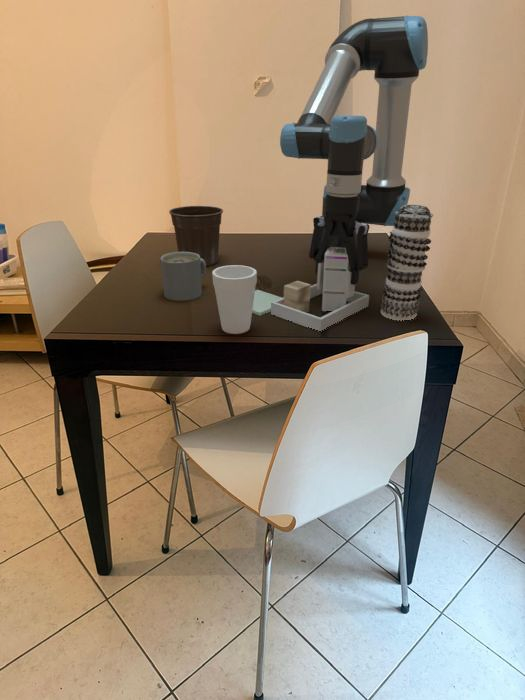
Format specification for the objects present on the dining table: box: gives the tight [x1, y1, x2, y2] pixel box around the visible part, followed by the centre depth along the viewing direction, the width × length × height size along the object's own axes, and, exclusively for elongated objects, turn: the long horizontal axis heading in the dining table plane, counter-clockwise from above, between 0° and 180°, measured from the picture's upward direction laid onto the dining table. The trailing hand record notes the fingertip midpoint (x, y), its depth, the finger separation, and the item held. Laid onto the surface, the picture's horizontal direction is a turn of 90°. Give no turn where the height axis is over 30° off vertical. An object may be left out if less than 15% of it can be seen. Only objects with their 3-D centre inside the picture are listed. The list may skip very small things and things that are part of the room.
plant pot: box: [168, 205, 224, 267], centre depth 144 cm, size 16×16×16 cm
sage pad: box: [252, 289, 283, 317], centre depth 117 cm, size 11×11×1 cm
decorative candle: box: [380, 204, 434, 322], centre depth 106 cm, size 9×9×25 cm
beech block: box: [283, 280, 312, 313], centre depth 110 cm, size 5×4×7 cm
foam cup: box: [211, 264, 258, 335], centre depth 101 cm, size 10×9×13 cm
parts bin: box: [270, 283, 370, 332], centre depth 112 cm, size 20×15×3 cm
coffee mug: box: [160, 251, 207, 302], centre depth 121 cm, size 13×10×10 cm
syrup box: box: [321, 247, 350, 312], centre depth 111 cm, size 6×6×14 cm
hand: (335, 291), depth 113 cm, fingers open, 8 cm apart
